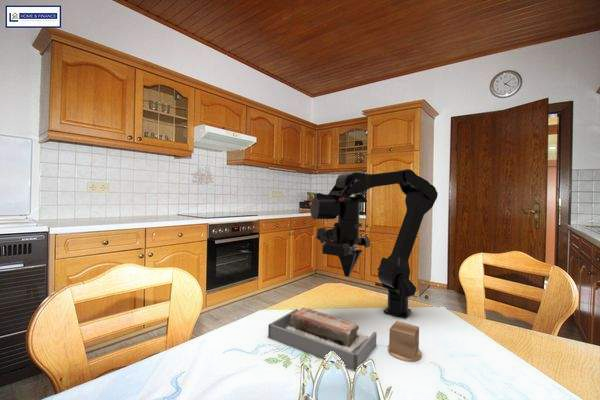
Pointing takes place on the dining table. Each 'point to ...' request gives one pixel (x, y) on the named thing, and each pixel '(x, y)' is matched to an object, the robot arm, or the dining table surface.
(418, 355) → the coaster
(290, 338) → the bin
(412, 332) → the block
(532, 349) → the dining table surface
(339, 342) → the packaged product
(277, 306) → the dining table surface
